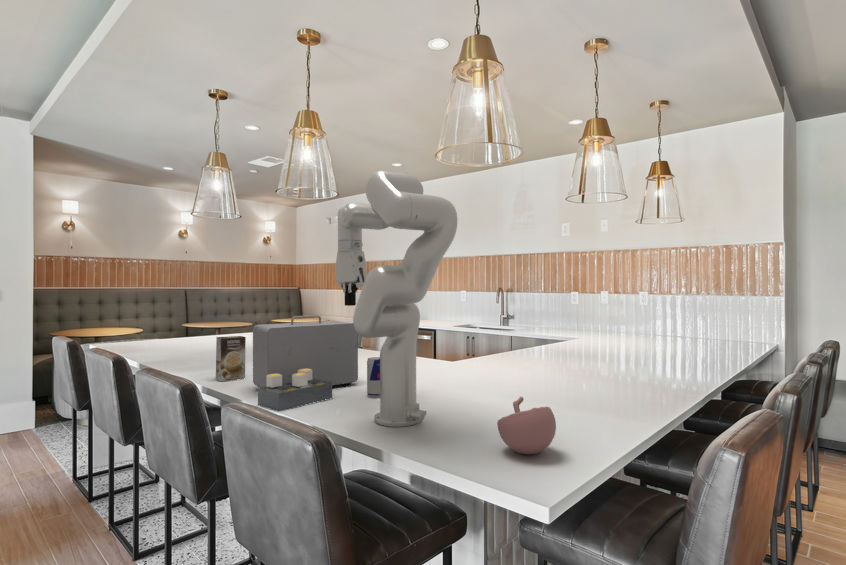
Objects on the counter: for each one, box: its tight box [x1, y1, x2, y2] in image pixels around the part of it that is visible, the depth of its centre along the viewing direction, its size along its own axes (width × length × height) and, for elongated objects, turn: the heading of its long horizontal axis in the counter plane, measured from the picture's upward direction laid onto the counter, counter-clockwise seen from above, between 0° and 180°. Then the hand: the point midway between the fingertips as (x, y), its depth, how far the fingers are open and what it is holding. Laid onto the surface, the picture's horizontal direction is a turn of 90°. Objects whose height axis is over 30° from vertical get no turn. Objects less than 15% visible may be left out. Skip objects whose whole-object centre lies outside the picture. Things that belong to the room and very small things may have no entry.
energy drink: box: [366, 356, 380, 399], centre depth 149 cm, size 5×5×12 cm
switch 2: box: [298, 368, 312, 381], centre depth 148 cm, size 3×3×3 cm
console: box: [257, 379, 333, 412], centre depth 142 cm, size 11×19×5 cm, turn 140°
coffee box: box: [215, 335, 246, 383], centre depth 177 cm, size 9×6×16 cm
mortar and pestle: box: [497, 396, 557, 455], centre depth 98 cm, size 12×12×12 cm
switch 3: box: [292, 373, 308, 387], centre depth 141 cm, size 3×3×3 cm
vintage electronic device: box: [252, 314, 359, 388], centre depth 163 cm, size 32×18×25 cm, turn 126°
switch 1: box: [267, 373, 282, 388], centre depth 140 cm, size 3×3×3 cm
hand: (350, 305), depth 146 cm, fingers closed
